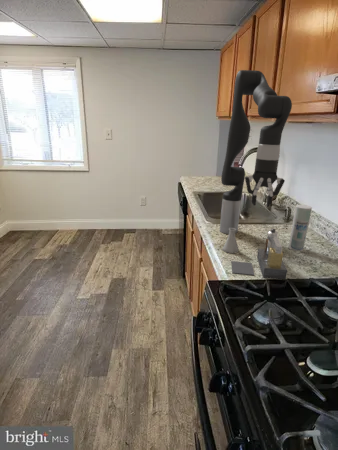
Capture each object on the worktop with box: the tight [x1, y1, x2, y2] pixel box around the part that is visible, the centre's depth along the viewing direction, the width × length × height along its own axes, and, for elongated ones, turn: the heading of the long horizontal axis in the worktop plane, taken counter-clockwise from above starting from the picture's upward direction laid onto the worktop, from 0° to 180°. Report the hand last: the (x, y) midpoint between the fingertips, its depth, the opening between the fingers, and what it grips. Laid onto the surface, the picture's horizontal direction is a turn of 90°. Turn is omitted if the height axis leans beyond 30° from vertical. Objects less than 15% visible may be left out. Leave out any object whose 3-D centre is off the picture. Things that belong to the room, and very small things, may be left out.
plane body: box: [256, 238, 288, 281], centre depth 116 cm, size 18×8×10 cm, turn 171°
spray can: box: [288, 204, 313, 252], centre depth 134 cm, size 6×6×20 cm
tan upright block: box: [267, 248, 284, 268], centre depth 111 cm, size 5×4×6 cm
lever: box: [267, 228, 283, 254], centre depth 113 cm, size 16×4×4 cm, turn 171°
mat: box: [230, 260, 255, 276], centre depth 117 cm, size 10×8×1 cm
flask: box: [221, 228, 239, 254], centre depth 131 cm, size 7×7×10 cm
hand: (260, 205), depth 110 cm, fingers open, 4 cm apart
